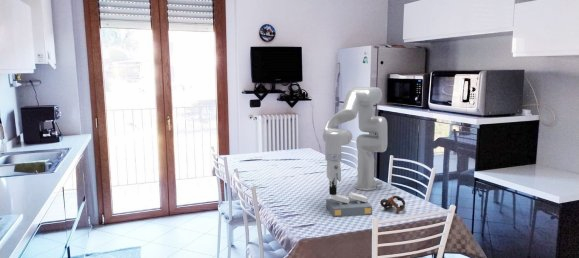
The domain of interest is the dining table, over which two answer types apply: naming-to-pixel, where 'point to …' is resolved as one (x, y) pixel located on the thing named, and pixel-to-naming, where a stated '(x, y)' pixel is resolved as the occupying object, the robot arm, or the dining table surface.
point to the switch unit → (348, 208)
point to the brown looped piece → (393, 203)
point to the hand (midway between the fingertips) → (332, 194)
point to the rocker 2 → (358, 197)
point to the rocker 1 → (340, 198)
